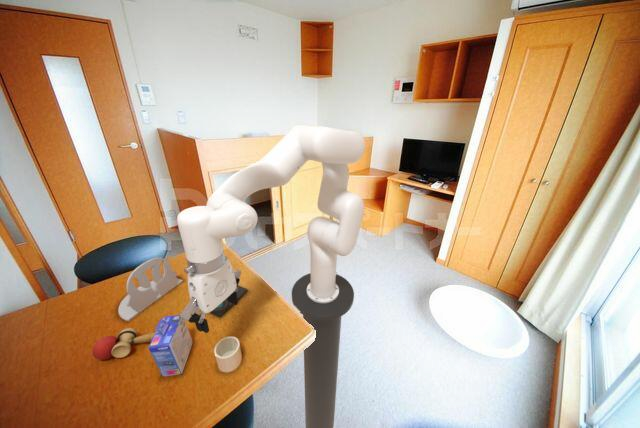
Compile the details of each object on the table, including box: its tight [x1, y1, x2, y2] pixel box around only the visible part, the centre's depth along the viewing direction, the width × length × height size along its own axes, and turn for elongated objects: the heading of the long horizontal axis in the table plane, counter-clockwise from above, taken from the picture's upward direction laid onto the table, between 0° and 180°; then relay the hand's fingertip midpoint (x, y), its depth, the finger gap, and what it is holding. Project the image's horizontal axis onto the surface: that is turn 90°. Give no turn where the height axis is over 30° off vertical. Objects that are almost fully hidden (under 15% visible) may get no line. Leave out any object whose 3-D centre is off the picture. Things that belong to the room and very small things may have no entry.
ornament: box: [117, 257, 184, 322], centre depth 88 cm, size 22×13×17 cm, turn 159°
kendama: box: [91, 327, 157, 361], centre depth 71 cm, size 8×6×18 cm
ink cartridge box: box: [148, 314, 194, 377], centre depth 66 cm, size 10×6×14 cm, turn 10°
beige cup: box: [213, 335, 243, 373], centre depth 67 cm, size 7×7×6 cm
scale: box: [208, 285, 249, 318], centre depth 89 cm, size 14×12×3 cm
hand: (219, 315), depth 61 cm, fingers open, 9 cm apart
